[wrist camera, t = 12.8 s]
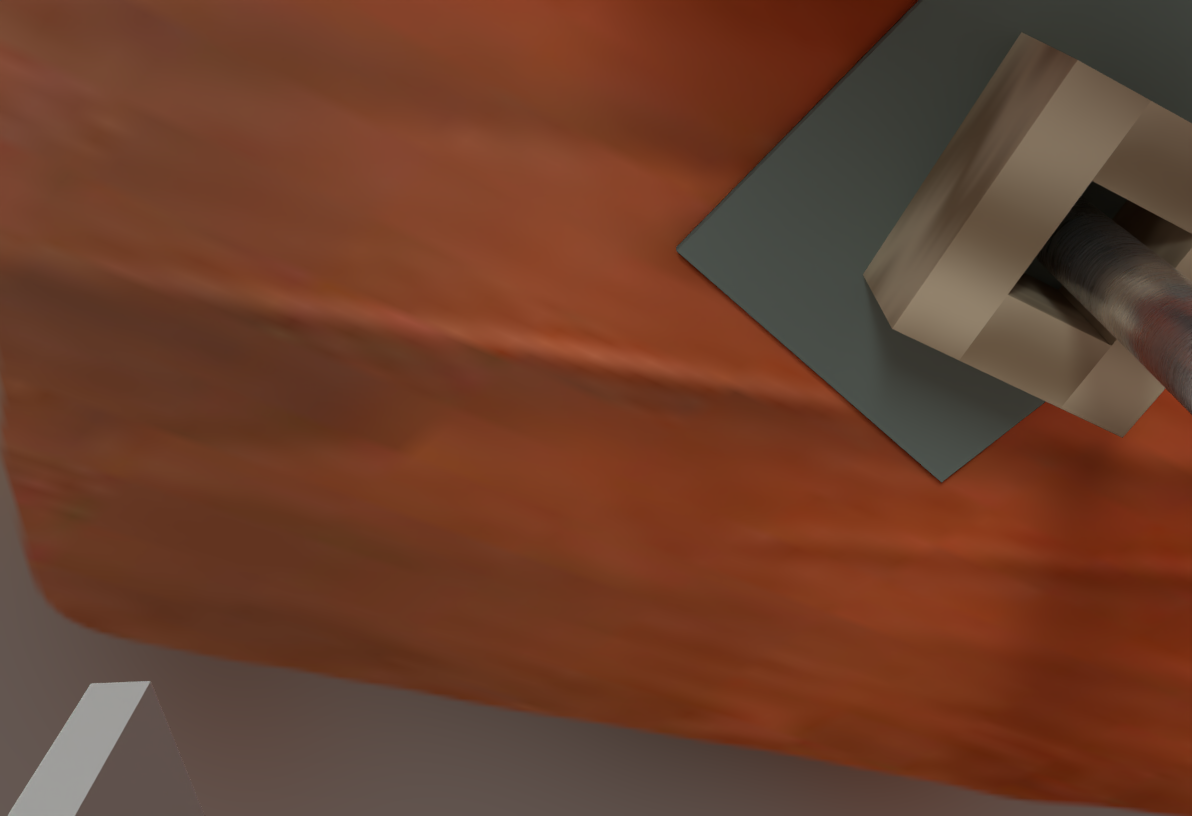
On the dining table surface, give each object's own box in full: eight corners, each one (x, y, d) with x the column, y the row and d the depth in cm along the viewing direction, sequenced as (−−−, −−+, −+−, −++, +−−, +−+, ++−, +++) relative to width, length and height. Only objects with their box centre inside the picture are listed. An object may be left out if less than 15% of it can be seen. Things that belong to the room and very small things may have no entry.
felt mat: (1228, -316, 30) (1235, -318, 30) (1482, 54, 35) (1491, 55, 35) (676, 247, 40) (676, 251, 39) (938, 477, 45) (941, 482, 44)
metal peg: (1042, 173, 37) (1352, 417, 22) (1098, 202, 38) (1441, 462, 22) (999, 233, 39) (1263, 507, 23) (1054, 261, 39) (1350, 547, 23)
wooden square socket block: (1021, 31, 35) (1077, 59, 31) (1246, 156, 37) (1329, 199, 33) (862, 274, 40) (892, 328, 35) (1070, 374, 41) (1122, 437, 37)
